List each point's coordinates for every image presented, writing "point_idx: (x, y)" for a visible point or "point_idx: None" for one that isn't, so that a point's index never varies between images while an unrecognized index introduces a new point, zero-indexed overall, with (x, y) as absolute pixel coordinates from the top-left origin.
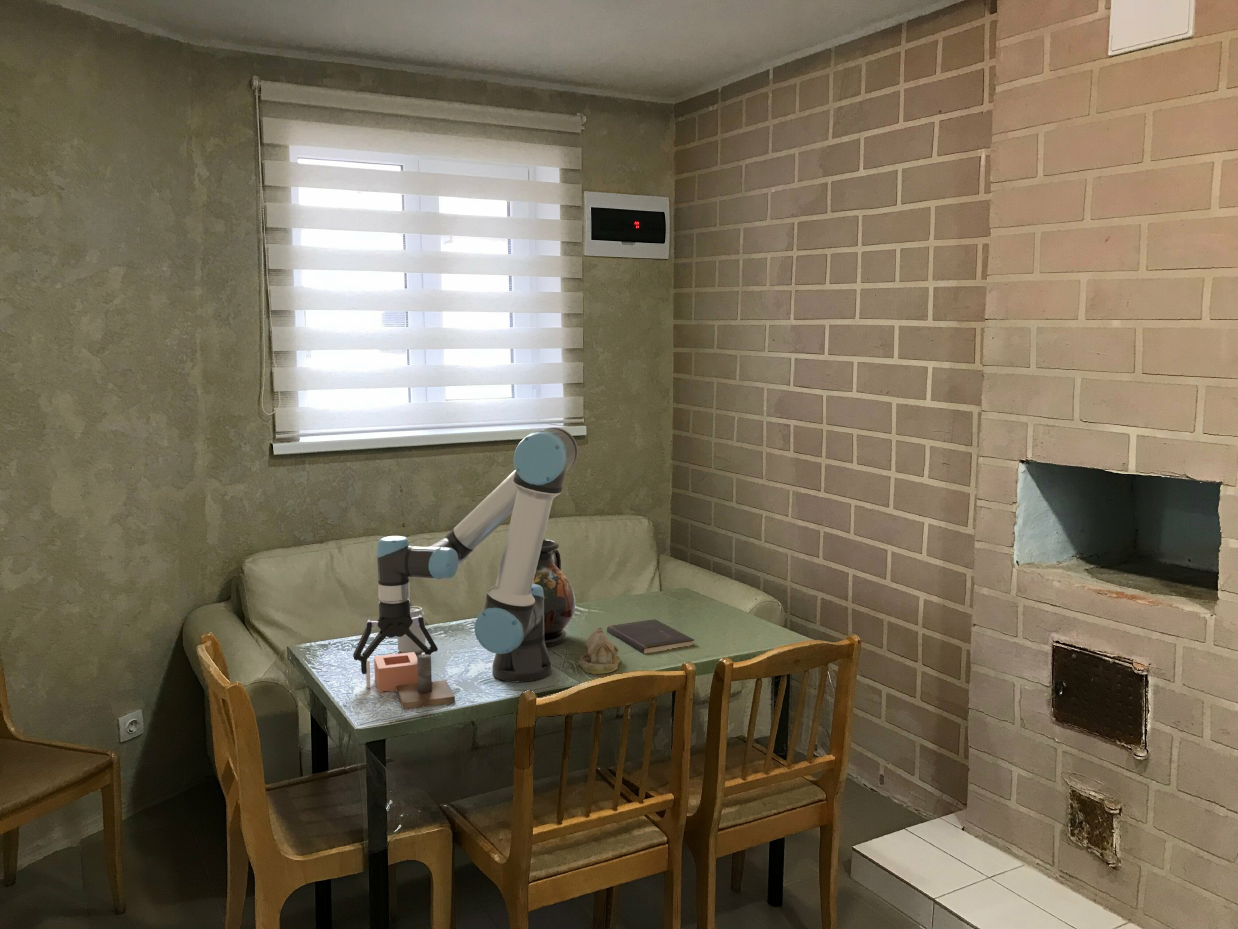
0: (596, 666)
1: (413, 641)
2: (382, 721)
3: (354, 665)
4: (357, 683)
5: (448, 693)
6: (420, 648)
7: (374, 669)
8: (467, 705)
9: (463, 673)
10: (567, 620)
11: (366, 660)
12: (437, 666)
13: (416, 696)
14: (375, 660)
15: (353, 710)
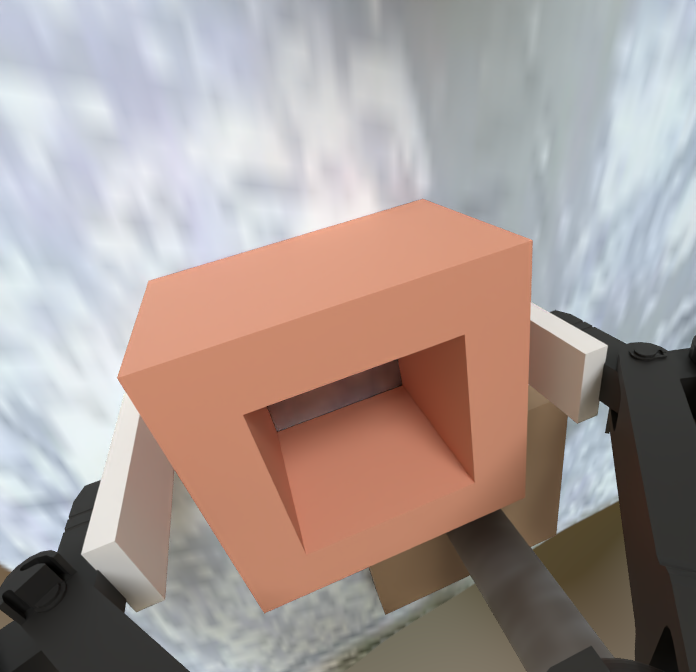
0: None
1: (629, 567)
2: (318, 664)
3: None
4: (32, 352)
5: (543, 518)
6: (616, 474)
7: (139, 315)
8: (566, 525)
9: (664, 201)
10: None
11: (115, 584)
12: (580, 10)
13: (433, 562)
14: (184, 484)
15: (183, 638)
